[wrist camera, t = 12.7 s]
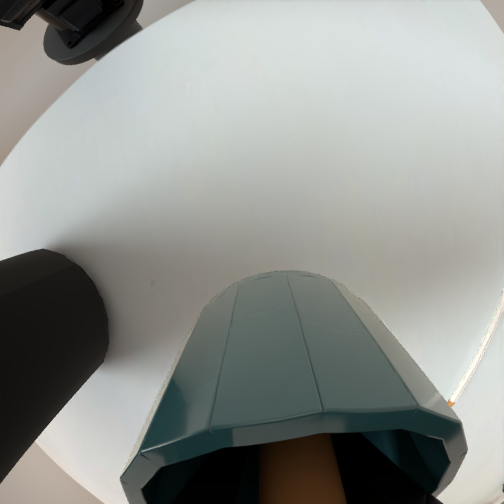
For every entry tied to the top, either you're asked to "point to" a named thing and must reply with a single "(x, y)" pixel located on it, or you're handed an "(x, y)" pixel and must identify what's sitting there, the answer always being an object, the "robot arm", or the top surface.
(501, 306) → the pencil
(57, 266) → the coffee jar
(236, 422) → the teal cup
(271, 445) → the tan wooden dowel
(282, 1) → the top surface
